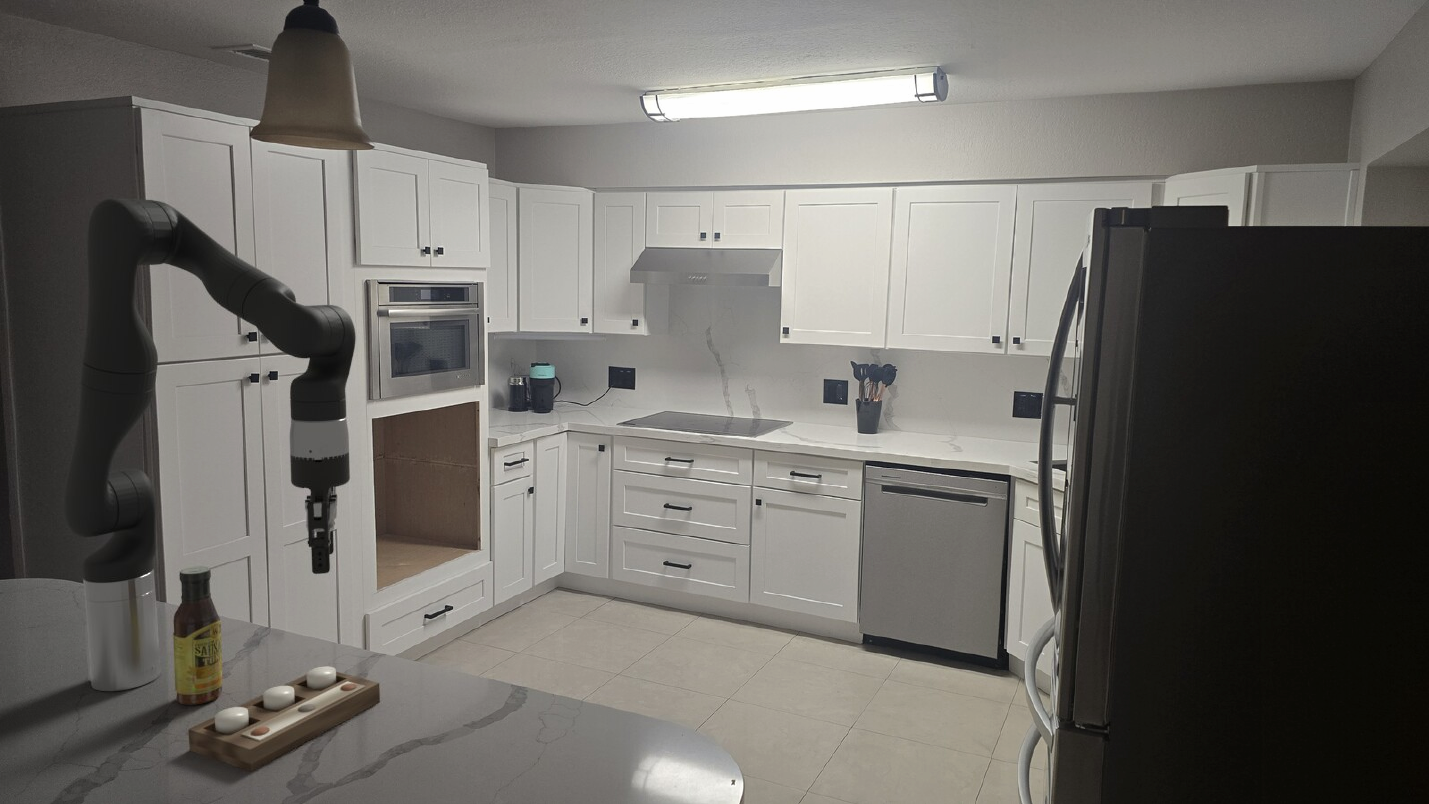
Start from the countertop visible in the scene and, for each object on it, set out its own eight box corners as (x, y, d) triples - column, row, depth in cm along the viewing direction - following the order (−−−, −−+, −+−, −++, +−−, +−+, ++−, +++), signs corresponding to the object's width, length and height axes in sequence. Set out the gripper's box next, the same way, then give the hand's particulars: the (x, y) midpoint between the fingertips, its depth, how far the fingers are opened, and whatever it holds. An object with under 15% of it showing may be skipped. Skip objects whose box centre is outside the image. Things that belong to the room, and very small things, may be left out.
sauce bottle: (202, 709, 135) (194, 578, 132) (165, 704, 136) (157, 575, 133) (234, 690, 141) (227, 565, 138) (198, 686, 142) (191, 562, 140)
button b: (257, 707, 130) (256, 694, 130) (281, 696, 134) (280, 683, 133) (277, 713, 128) (276, 700, 128) (301, 702, 132) (300, 688, 132)
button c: (208, 730, 123) (208, 716, 123) (235, 718, 127) (234, 704, 127) (229, 737, 122) (228, 723, 121) (255, 724, 125) (254, 710, 125)
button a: (301, 687, 137) (300, 674, 136) (322, 676, 140) (322, 664, 140) (320, 692, 135) (320, 679, 135) (342, 682, 139) (341, 669, 138)
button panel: (189, 750, 123) (188, 726, 123) (322, 685, 143) (321, 665, 142) (251, 771, 118) (250, 746, 118) (379, 701, 138) (379, 680, 137)
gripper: (295, 441, 132) (299, 550, 134) (284, 461, 119) (288, 581, 121) (351, 440, 135) (353, 546, 137) (346, 459, 121) (349, 577, 123)
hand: (323, 563), depth 129 cm, fingers open, 8 cm apart
